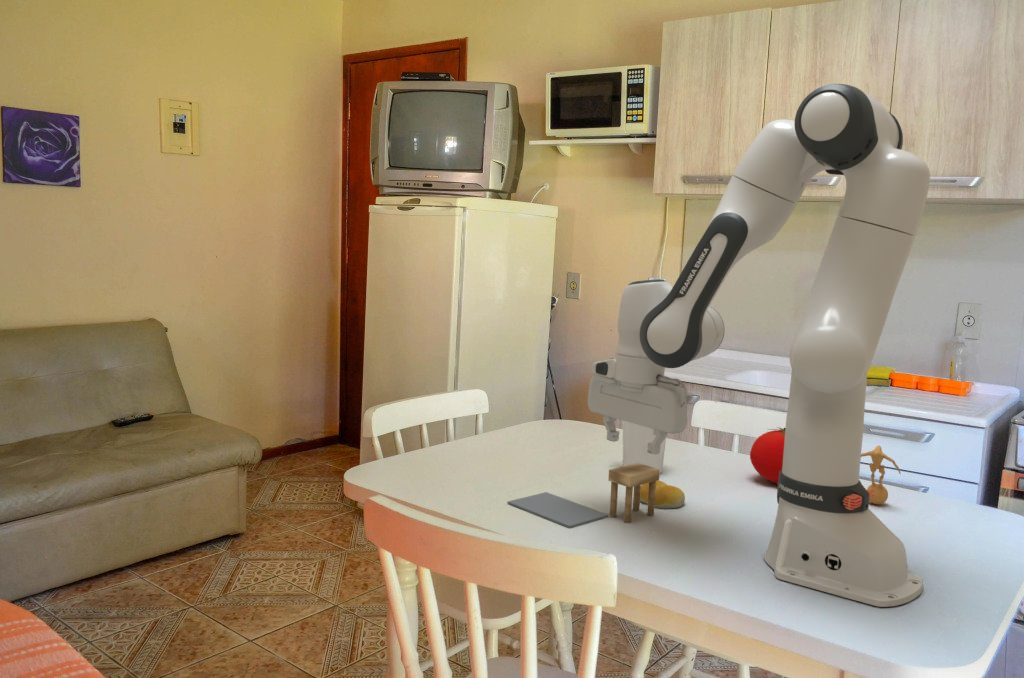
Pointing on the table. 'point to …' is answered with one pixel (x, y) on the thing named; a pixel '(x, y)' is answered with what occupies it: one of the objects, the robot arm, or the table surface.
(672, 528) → the table surface
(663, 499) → the bread roll
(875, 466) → the figurine
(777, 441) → the tomato
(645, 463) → the candle holder
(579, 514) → the mat
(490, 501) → the table surface
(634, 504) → the stool
